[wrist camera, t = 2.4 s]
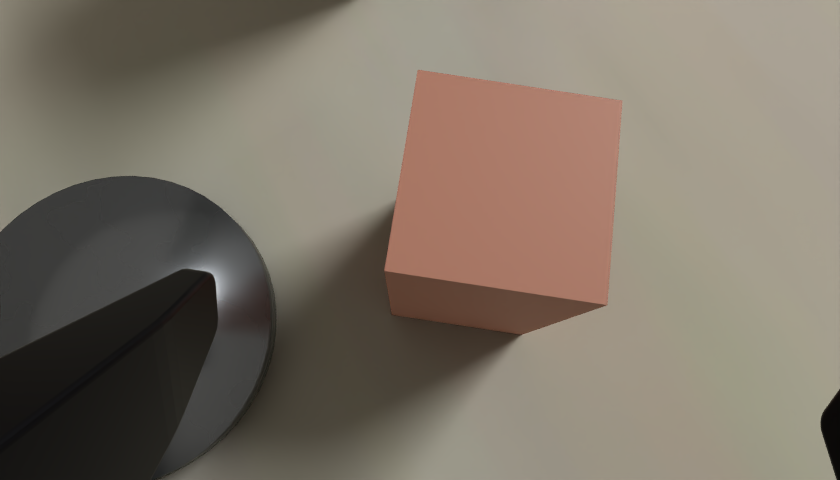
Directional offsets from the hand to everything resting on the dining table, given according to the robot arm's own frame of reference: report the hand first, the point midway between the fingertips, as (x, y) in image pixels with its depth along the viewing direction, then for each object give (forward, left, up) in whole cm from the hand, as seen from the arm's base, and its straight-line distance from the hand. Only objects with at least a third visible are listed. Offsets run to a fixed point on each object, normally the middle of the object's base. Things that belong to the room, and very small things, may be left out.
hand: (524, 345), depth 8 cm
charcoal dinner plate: (0, +11, -12) cm, 16 cm away
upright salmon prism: (+4, 0, -12) cm, 12 cm away
